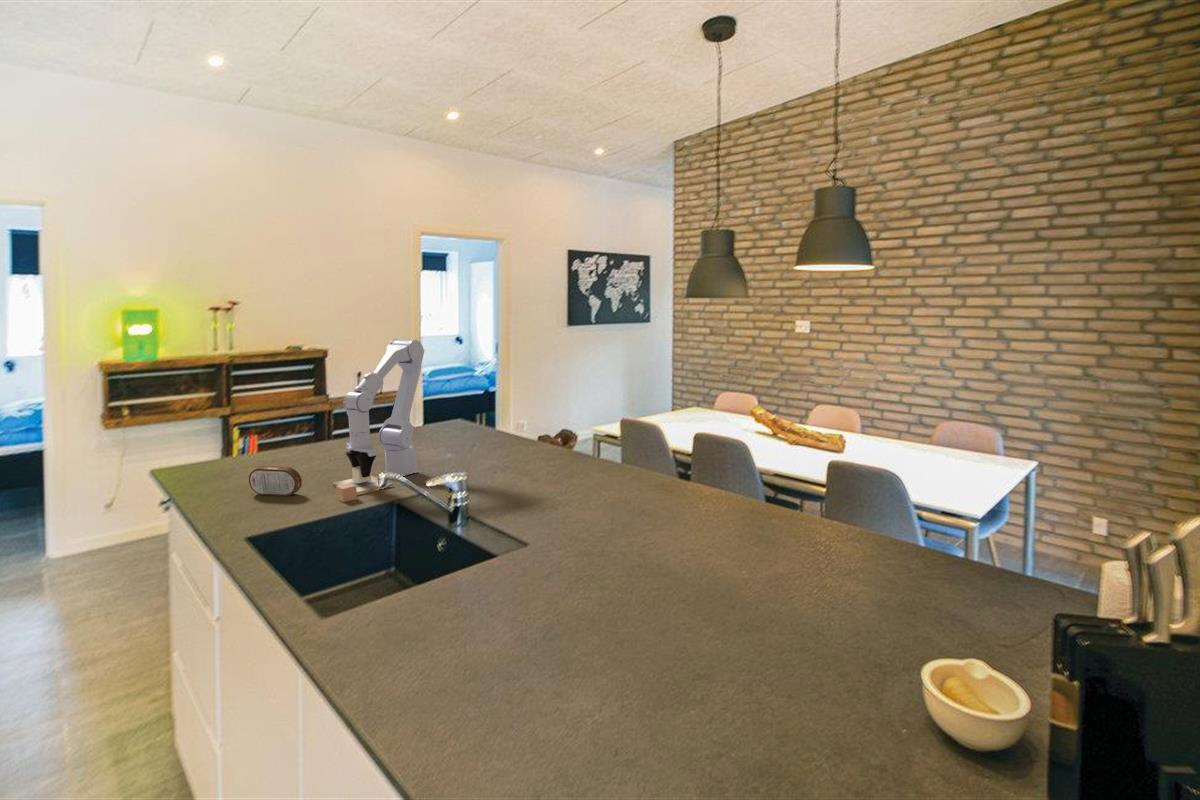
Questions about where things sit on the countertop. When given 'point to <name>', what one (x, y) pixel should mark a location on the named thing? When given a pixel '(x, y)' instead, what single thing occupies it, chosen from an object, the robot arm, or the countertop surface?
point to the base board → (363, 485)
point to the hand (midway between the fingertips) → (362, 475)
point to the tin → (275, 480)
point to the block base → (359, 475)
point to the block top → (346, 492)
